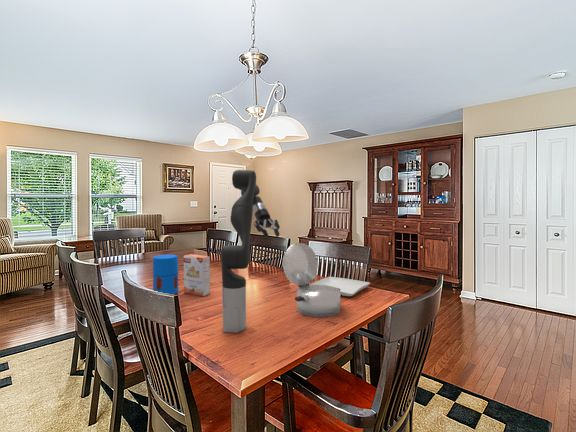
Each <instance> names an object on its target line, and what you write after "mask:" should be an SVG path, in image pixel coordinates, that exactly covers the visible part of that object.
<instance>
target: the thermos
mask: <svg viewBox="0 0 576 432" xmlns="http://www.w3.org/2000/svg"><path fill="white" fill-rule="evenodd" d="M152 284H153V286H152V289H153V290H154V291H158V292H163V293H169V294H174V295H178V296H179V258H178V255H176V254H160V255H155V256H153V257H152ZM153 290H152V291H153ZM179 297H180V296H179Z"/></svg>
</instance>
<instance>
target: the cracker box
mask: <svg viewBox="0 0 576 432" xmlns="http://www.w3.org/2000/svg"><path fill="white" fill-rule="evenodd" d="M210 257H211V256H207V255H200V254H193V253H190V254H185V255H183V293H185V294H190V295H194V296H199V297H205V296H208V295H210V294H211V264H210V263H211V258H210Z"/></svg>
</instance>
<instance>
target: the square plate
mask: <svg viewBox="0 0 576 432" xmlns="http://www.w3.org/2000/svg"><path fill="white" fill-rule="evenodd" d="M370 284H371V282H369V281H362V280H356V279H350V278H346V277H345V278H344V277H335V276H327V277H326V278H325V277H324V278H322V279H319V280H318V281H315V282H313V283H311V284H310V285H327V286H332V287H335V288H339V289H340V296H341V295H342V297H352V296H354V295H356V294H357V293H359V292H360V291H362V290H364V289H365V288H367V287H368V286H369V285H370Z"/></svg>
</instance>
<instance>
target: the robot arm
mask: <svg viewBox="0 0 576 432" xmlns="http://www.w3.org/2000/svg"><path fill="white" fill-rule="evenodd" d="M231 177H232V178H231V179H232V180H231V182H232V186H233V188H234V189H235V190H236V189H237V190H239V191H240V194H241V196H240V197H239V198H238V199H237V200H236V201H235V202H234V204H232V206H231V212H230V223H231V225H232V227H233V228H234V231H236V233H237V234H238V237H239V239H240V242H241V245H240V244H239V245H231V244H229V245H224V246H223V247H222V248H221V253H220V259H221V261H220V263H221V278H222V279H221V282H222V285H221V286H222V289H221V290H222V293H221V294H222V330H223V331H222V332H223V333H235V334H238V333H240V332H242V331H243V332H244V331H245V330H246V329H247V280H246V278H245V276H243V275H239V274H237V273H235V272H234V271H233V270H243V269H244V270H245V269H247V268H248V267H249V263H250V257H251V255H250V253H251V251H250V250H251V249H250V248H251V233H252V232H251V229H252V221H253V215H254V217H255V219H256V220H255V221H254V223H253V225H254V227H255V229H256V231H257V232H259V233H260V232H261V233H262V235H263V236H264V238H268V237H269V233H268V231H267V229H270V230H272V231H273V233H274V235H275V237H276V238H278V237H279V236H280V232H279V229H280V228H281V227H280V224H279V221H278V220H277V219H275V220H274V219H272V218H271V215H270V213H269V211H268V208H267V207H266V205H265V204H264V202H263V200H262V198H261V197H260V196H259V194H260V191H261V190H260V188H259V186H258V185H257V174H256V172H255V171H254V170H252V169H236V170H234V171H233V172H232V175H231Z"/></svg>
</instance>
